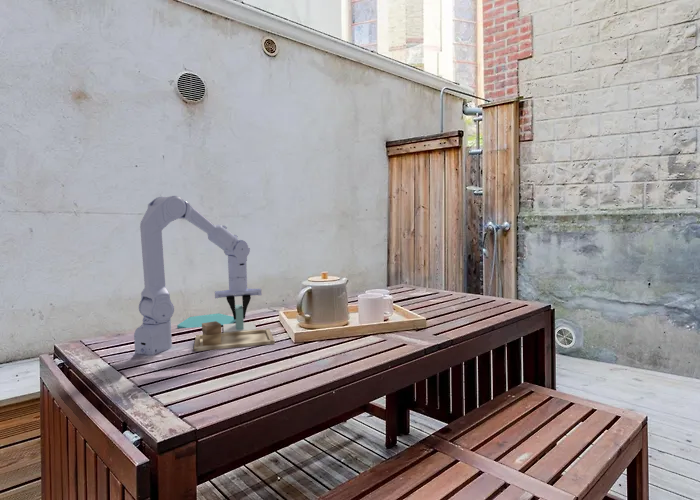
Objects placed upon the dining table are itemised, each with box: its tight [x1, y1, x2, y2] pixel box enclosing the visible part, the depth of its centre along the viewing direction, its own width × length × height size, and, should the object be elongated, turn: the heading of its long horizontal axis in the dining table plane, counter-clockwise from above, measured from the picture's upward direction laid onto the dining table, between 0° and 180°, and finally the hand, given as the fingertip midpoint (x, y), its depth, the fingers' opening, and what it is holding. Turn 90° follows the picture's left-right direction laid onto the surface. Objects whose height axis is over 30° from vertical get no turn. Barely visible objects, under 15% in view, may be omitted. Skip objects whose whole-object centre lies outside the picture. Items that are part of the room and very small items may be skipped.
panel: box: [235, 304, 244, 330], centre depth 142 cm, size 2×7×6 cm, turn 16°
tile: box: [222, 321, 257, 333], centre depth 143 cm, size 10×10×2 cm
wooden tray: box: [193, 328, 276, 352], centre depth 130 cm, size 22×14×2 cm, turn 107°
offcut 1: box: [201, 321, 222, 335], centre depth 128 cm, size 4×5×2 cm
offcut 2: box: [202, 332, 222, 346], centre depth 128 cm, size 5×5×3 cm
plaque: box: [176, 312, 236, 329], centre depth 154 cm, size 18×2×20 cm
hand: (239, 318), depth 143 cm, fingers closed on panel, 2 cm apart
